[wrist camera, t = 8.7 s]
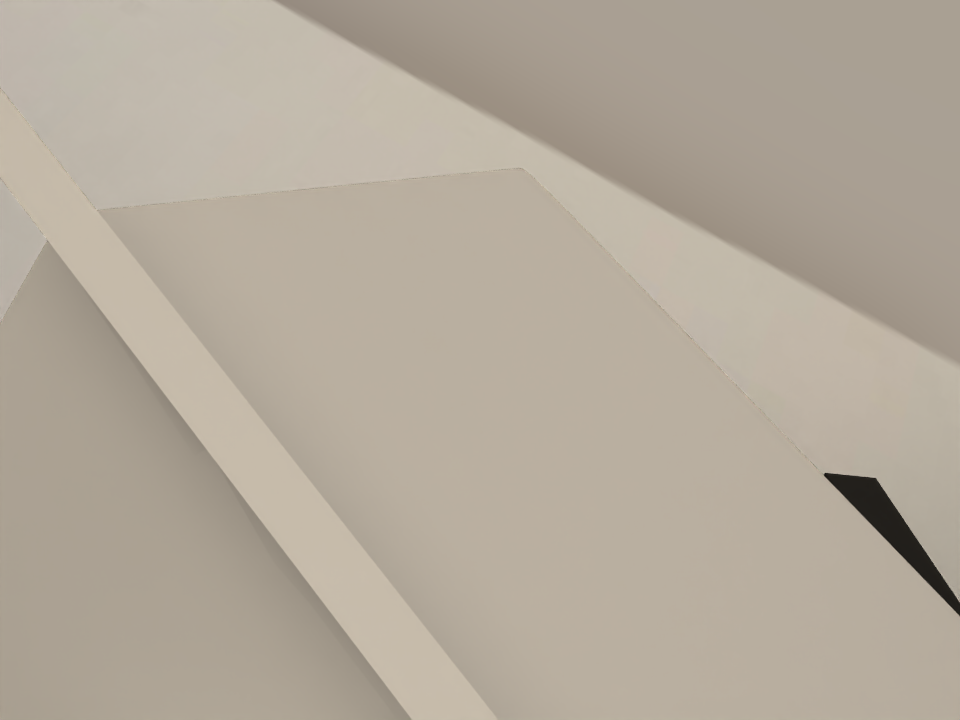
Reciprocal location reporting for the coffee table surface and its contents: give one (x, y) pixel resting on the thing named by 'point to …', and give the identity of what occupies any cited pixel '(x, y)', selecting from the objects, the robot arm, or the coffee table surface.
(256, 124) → the coffee table surface
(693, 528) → the milk carton
